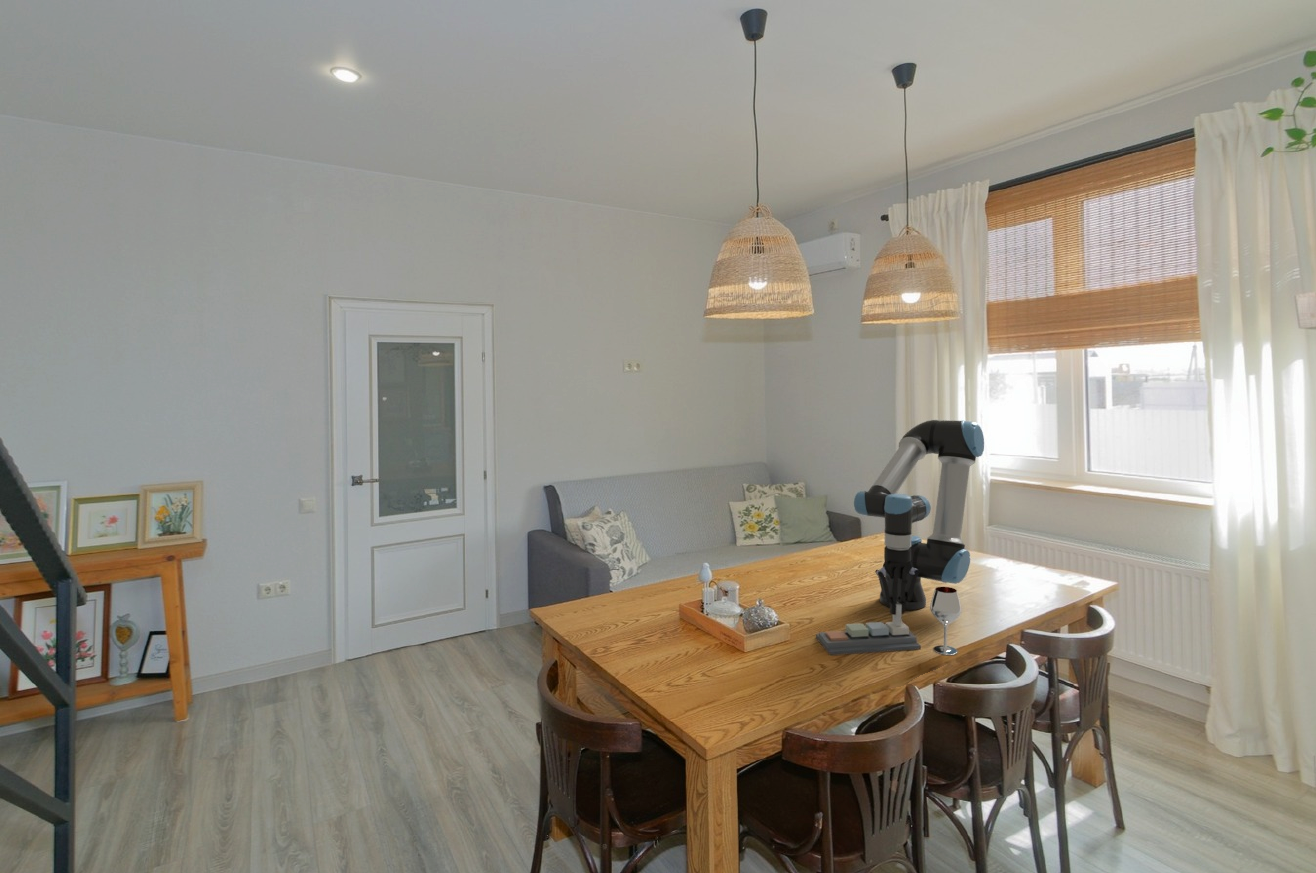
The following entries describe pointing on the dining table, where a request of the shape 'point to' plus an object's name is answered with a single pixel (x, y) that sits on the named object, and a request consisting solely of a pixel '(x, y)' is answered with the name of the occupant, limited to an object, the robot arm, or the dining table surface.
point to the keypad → (869, 643)
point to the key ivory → (897, 628)
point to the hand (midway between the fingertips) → (896, 624)
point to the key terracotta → (836, 636)
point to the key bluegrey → (877, 628)
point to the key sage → (856, 630)
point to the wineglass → (945, 613)
